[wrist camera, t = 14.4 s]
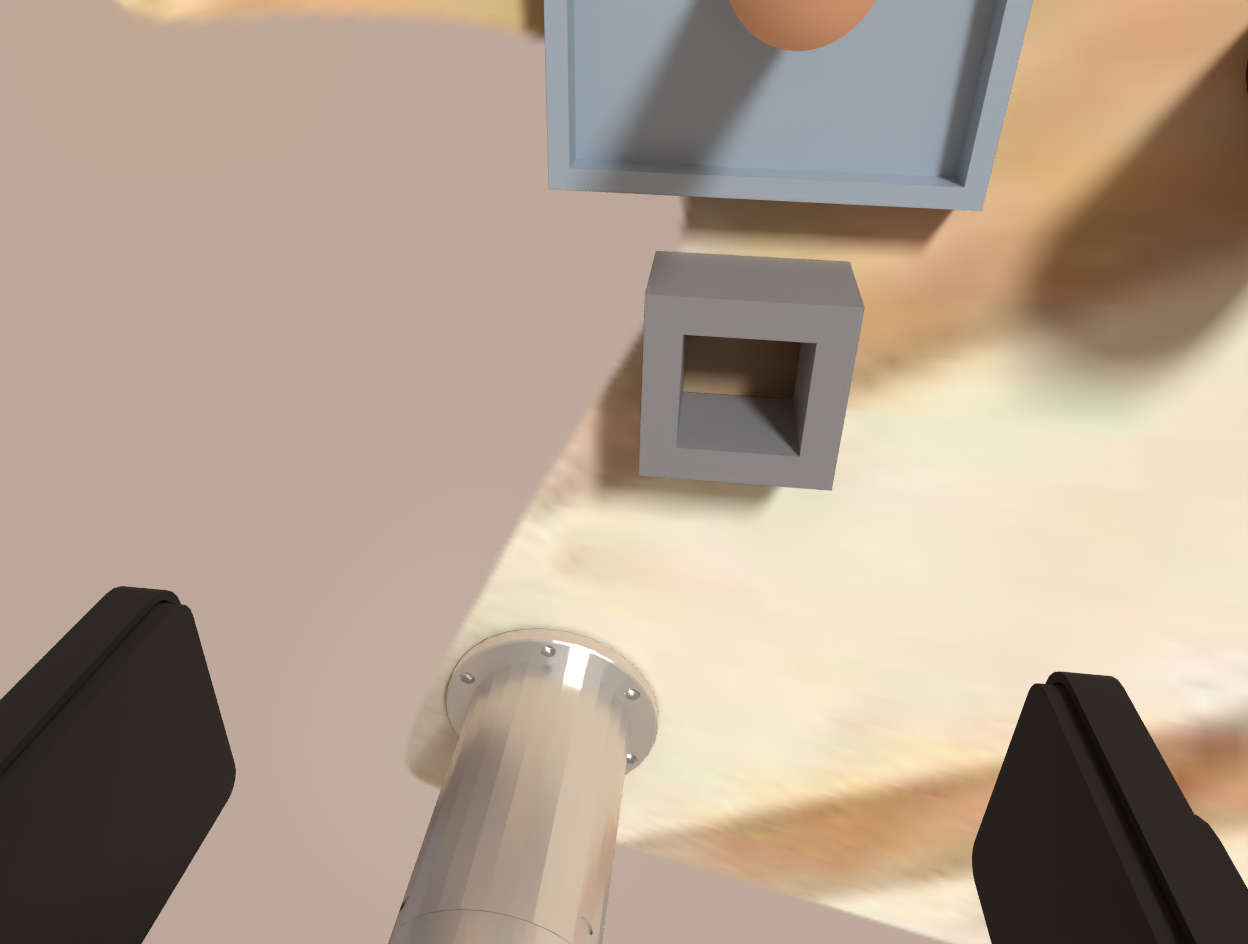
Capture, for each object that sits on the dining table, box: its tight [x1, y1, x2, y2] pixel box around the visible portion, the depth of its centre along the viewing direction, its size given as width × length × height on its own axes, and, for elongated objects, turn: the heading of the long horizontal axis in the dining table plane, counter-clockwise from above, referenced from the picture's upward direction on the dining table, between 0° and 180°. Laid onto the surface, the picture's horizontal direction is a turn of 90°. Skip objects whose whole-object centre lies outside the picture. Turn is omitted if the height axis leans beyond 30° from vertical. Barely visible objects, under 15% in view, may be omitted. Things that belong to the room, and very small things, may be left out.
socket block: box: [639, 251, 864, 491], centre depth 36 cm, size 8×8×5 cm
